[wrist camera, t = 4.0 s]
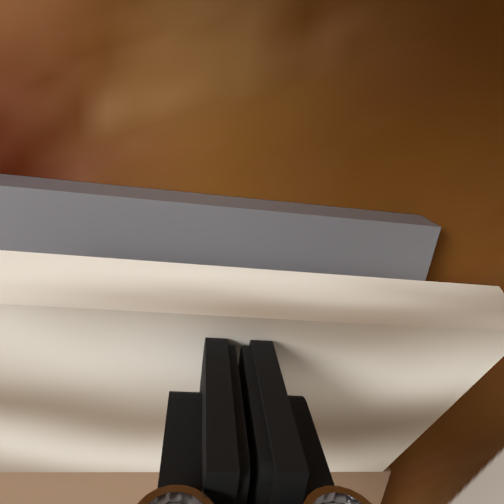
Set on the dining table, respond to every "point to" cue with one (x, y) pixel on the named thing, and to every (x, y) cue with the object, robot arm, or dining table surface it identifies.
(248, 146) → the dining table surface
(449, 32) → the dining table surface
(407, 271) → the floor sample board
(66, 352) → the pale plank
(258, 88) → the dining table surface
